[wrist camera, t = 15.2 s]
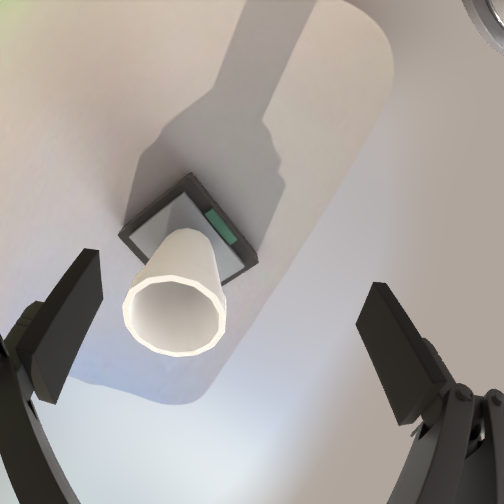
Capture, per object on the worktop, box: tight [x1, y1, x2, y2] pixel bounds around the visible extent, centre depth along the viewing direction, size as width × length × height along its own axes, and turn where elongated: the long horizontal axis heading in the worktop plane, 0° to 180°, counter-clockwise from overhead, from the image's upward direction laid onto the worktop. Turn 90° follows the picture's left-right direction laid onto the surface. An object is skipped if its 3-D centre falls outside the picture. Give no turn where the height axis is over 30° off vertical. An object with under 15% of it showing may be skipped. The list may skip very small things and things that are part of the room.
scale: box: [118, 172, 259, 287], centre depth 40 cm, size 14×12×3 cm
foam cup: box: [122, 228, 226, 357], centre depth 33 cm, size 10×9×13 cm
